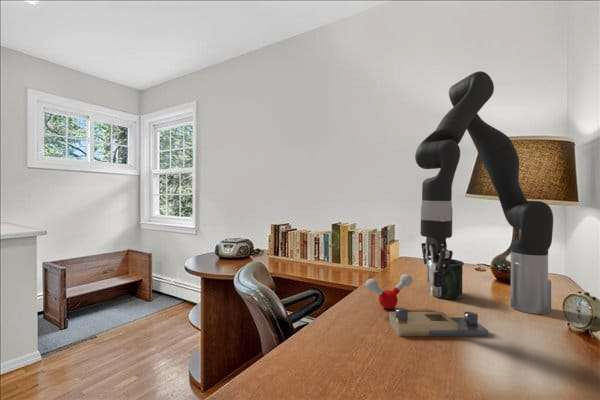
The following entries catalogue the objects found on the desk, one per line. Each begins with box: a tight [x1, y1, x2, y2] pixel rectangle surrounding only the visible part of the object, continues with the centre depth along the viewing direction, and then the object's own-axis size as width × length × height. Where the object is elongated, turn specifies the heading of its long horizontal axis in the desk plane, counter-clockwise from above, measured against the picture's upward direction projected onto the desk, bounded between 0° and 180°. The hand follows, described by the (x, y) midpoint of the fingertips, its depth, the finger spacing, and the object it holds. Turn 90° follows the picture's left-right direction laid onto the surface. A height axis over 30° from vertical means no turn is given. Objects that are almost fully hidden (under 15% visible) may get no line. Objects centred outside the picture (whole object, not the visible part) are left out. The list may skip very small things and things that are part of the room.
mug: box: [434, 258, 465, 301], centre depth 109 cm, size 11×15×12 cm
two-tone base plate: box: [388, 307, 489, 337], centre depth 80 cm, size 22×8×5 cm, turn 90°
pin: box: [427, 255, 441, 298], centre depth 80 cm, size 4×4×10 cm
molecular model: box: [365, 273, 413, 310], centre depth 95 cm, size 18×6×10 cm, turn 124°
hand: (435, 284), depth 80 cm, fingers closed on pin, 3 cm apart
